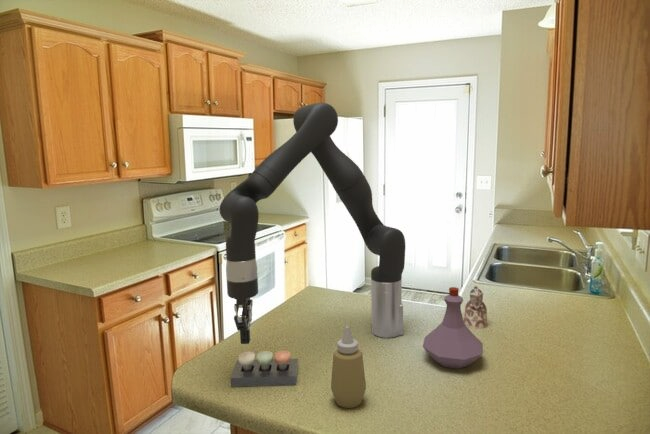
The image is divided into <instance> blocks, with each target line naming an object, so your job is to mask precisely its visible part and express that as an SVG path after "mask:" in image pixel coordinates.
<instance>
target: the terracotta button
mask: <svg viewBox="0 0 650 434" xmlns="http://www.w3.org/2000/svg"><path fill="white" fill-rule="evenodd" d="M273 354H274V356H273V358H274V359H275V362H276V363H278V366H279V370H287V363H288V362H289V361H290V359H291V352H290V351H288V350H279V351H276V352H275V353H273Z"/></svg>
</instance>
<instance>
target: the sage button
mask: <svg viewBox="0 0 650 434" xmlns="http://www.w3.org/2000/svg"><path fill="white" fill-rule="evenodd" d="M273 354H274V353H273V352H271V351H269V350H263V351H260V352H258V353H257V354H256V360H257V363H259V364H261V371H269V370H270V365H269V363H271V362H272V361H273V359H274V356H273Z"/></svg>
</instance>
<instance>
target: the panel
mask: <svg viewBox="0 0 650 434" xmlns="http://www.w3.org/2000/svg"><path fill="white" fill-rule="evenodd" d="M269 365H270V370H269V371H261V364H259V363H257V359H255V362H254V363H252V371H243V365H242V364H240V363H239V359H237V360H236V362H235V365H234V367H233V370H232V372H231V375H230V377H229V379H230V387H231V388H241V387H242V388H245V387H246V388H247V387H278V386H280V387H281V386H297V379H298V369H299V361H298V358H290V361H289V362H288V363H287V370H279V366H278V363H276V362H275V358H273V361H272V362H271V363H269Z"/></svg>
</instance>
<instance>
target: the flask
mask: <svg viewBox="0 0 650 434" xmlns="http://www.w3.org/2000/svg"><path fill="white" fill-rule="evenodd" d="M448 291H449V294H447V295H444V297H443V299H444V302H445V304H446V307H445V308H446V309H445V312H444V316H443V319H442V321H441V323H440V324H438V326H436V328H434V329H433V330H432V331H430V333H428V334H427V335H426V336H425V337H424V340H423V343H422V348H423V350H425V351H426V352H427V354H428V355H429V356H430V357H431V358H432V360H434V362H437V363H438V364H439V365H441V366H442V367H444V368H451V369H458V370H459V369H462V368H465V367H468V366H470V365H471V364H473V363H474V362H475V361H476V360H478V359H479V358H480V357H481V356H482V355H483V354H484V347H483V344H484V343H483V342H482V341H481V340H480V339H479V338H478V337H477V336H476V335H475V334H473V332H472V331H471V330H470V329H469V327H468V326H466V325H465V324H464V316H463V313H462V309H461V305H462V304H463V302H464V298H463V297H462V296H460V295H459V287H455V286H453V287H452V286H451V287H449V288H448Z"/></svg>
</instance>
